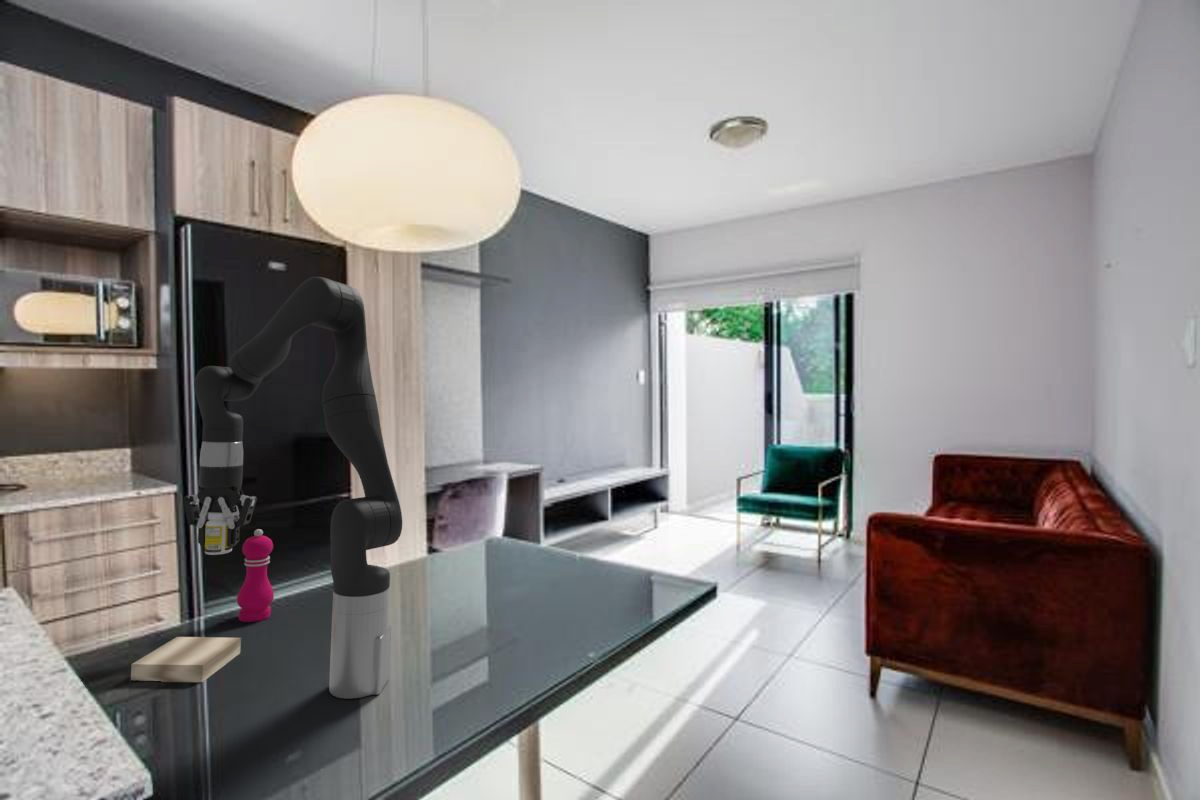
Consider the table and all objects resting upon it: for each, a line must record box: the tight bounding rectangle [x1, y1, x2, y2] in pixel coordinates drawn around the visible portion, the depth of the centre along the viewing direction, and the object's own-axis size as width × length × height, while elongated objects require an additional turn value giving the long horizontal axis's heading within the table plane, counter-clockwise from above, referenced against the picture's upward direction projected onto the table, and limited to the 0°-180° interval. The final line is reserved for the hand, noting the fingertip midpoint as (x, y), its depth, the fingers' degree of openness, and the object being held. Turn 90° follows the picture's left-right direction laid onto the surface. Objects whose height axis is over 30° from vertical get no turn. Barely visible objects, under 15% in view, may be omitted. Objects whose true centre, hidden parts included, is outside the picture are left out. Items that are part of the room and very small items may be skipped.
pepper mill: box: [236, 528, 275, 623], centre depth 133 cm, size 7×7×20 cm
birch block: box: [130, 636, 242, 683], centre depth 108 cm, size 12×12×3 cm
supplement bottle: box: [204, 511, 233, 556], centre depth 121 cm, size 5×5×8 cm
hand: (218, 545), depth 121 cm, fingers closed on supplement bottle, 4 cm apart
